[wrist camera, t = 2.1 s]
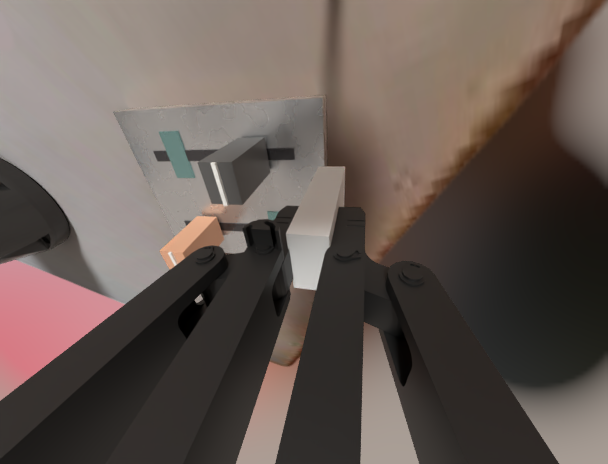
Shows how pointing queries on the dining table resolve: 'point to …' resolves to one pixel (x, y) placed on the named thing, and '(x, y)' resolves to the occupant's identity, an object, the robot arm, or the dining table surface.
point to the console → (216, 134)
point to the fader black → (235, 170)
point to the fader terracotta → (192, 239)
